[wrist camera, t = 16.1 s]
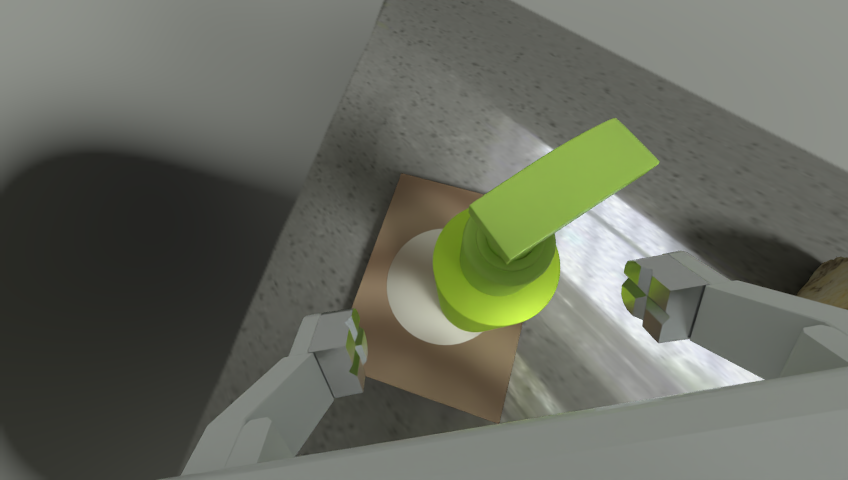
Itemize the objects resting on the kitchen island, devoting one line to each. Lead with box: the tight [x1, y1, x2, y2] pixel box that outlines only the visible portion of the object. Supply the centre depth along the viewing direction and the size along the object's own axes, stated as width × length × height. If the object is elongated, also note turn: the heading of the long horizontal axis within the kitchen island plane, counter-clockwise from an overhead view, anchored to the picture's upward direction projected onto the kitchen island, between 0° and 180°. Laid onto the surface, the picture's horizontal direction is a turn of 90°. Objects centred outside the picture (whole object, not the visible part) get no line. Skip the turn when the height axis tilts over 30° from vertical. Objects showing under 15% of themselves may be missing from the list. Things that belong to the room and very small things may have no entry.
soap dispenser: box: [433, 118, 659, 332], centre depth 18 cm, size 6×7×20 cm
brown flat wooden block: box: [352, 173, 523, 424], centre depth 29 cm, size 18×14×2 cm
